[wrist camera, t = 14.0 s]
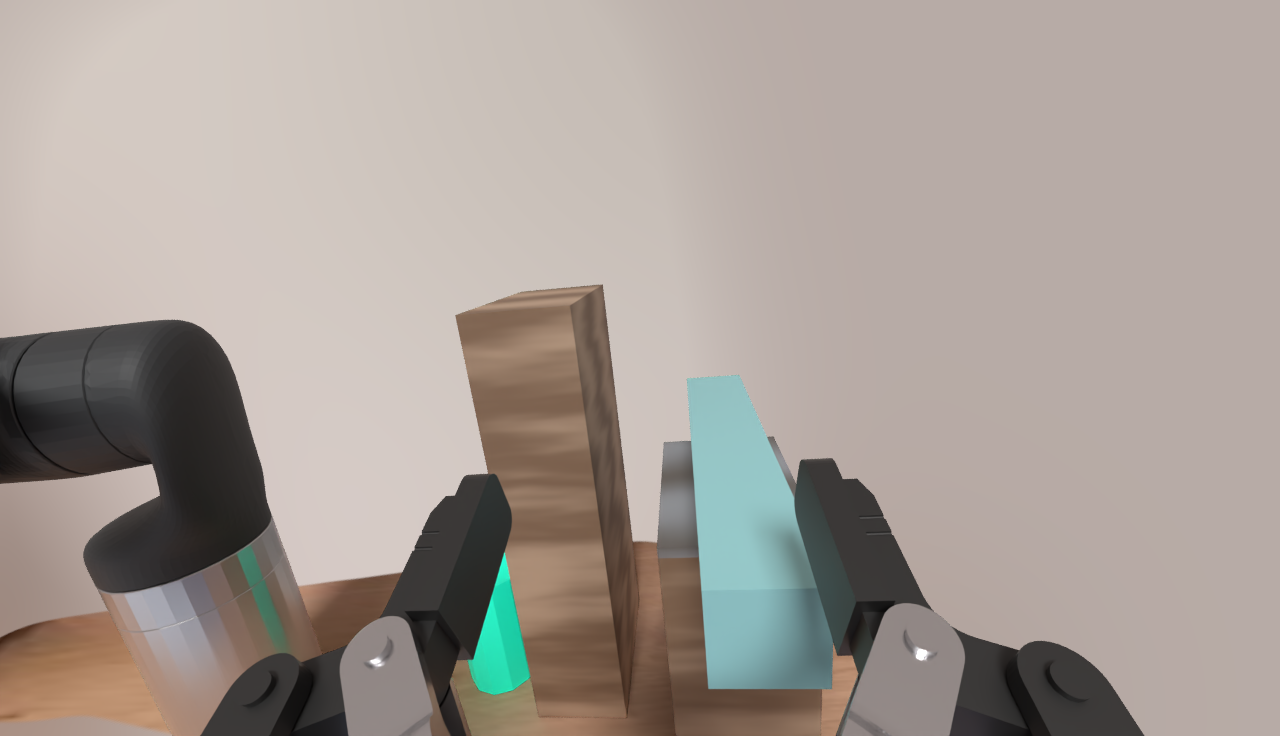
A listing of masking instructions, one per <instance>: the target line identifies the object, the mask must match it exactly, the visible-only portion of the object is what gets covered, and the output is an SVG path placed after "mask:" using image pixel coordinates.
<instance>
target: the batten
mask: <svg viewBox="0 0 1280 736" xmlns="http://www.w3.org/2000/svg"><path fill="white" fill-rule="evenodd" d="M687 386H688V401H689V416H690V430H691V445H692V460H693V474H694V489H695V503H696V518H697V533H698V547H699V562H700V576H701V591H702V605H703V619H704V633H705V647H706V661H707V676H708V689H832V662H833V639H832V636H831V633H830V629H829V626H828V623H827V619H826V616H825V613H824V609H823V606H822V603H821V600H820V596H819V593H818V590H817V586H816V583H815V580H814V576H813V573H812V570H811V566H810V563H809V560H808V556H807V553H806V550H805V546H804V543H803V540H802V536H801V533H800V530H799V527H798V523H797V519H796V514H795V507H794V497H793V494H792V492H791V490H790V488H789V485H788V483H787V481H786V479H785V476H784V474H783V472H782V470H781V467H780V465H779V463H778V461H777V459H776V456H775V454H774V452H773V450H772V447H771V445H770V443H769V441H768V438H767V436H766V434H765V432H764V430H763V427H762V425H761V423H760V421H759V418H758V416H757V414H756V412H755V409H754V408H753V405H752V403H751V401H750V398H749V396H748V394H747V392H746V389H745V387H744V385H743V383H742V380H741V378H740V376H739V375H732V376H718V377H705V378H688V379H687Z"/></svg>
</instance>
